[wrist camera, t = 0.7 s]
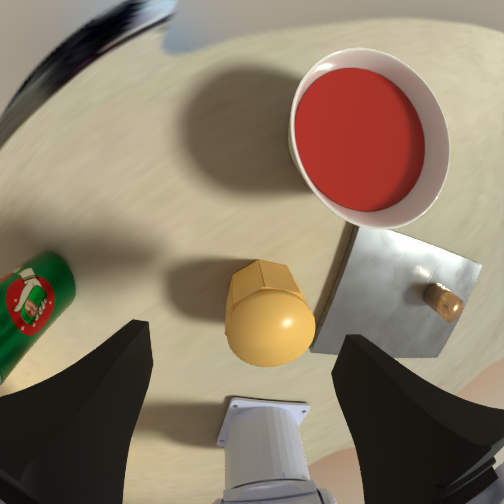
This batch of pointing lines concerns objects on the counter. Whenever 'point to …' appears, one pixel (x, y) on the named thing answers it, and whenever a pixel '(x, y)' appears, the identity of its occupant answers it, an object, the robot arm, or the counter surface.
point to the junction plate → (395, 295)
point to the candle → (369, 138)
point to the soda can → (31, 305)
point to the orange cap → (267, 315)
